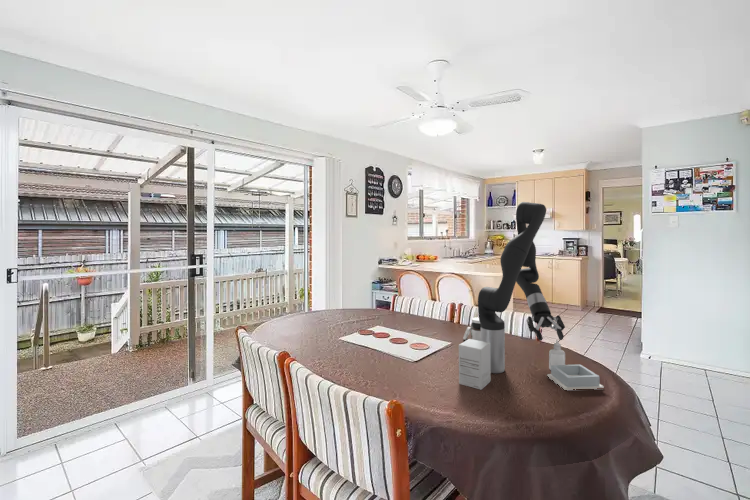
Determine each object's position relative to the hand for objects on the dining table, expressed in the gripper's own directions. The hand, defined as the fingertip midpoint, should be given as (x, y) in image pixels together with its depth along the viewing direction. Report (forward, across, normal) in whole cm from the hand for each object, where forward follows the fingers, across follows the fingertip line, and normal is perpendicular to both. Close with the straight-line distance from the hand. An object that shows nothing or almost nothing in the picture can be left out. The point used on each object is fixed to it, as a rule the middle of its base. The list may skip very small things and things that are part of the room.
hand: (551, 339), depth 151 cm
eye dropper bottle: (+11, 0, +5) cm, 12 cm away
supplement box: (+17, -36, -2) cm, 40 cm away
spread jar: (-16, -21, +32) cm, 42 cm away
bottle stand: (+19, 0, -4) cm, 20 cm away
